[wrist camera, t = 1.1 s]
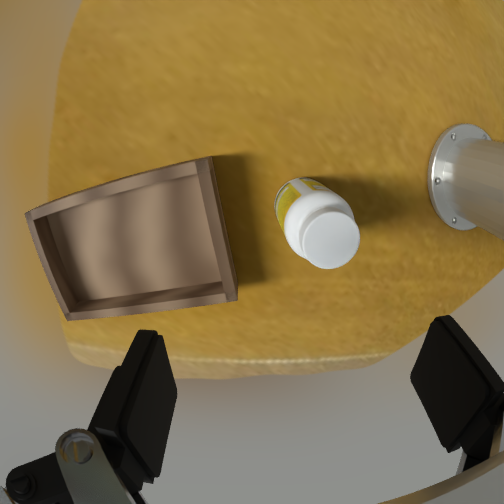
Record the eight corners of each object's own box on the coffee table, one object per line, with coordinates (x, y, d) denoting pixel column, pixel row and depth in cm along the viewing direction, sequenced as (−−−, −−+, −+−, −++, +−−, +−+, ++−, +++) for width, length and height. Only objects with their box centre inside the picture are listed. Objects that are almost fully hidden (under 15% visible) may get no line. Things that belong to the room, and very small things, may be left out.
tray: (211, 155, 25) (207, 158, 22) (237, 282, 30) (237, 300, 27) (42, 204, 26) (24, 213, 23) (79, 304, 31) (67, 320, 28)
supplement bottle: (284, 239, 29) (303, 289, 20) (266, 187, 27) (278, 216, 18) (335, 221, 28) (375, 263, 19) (320, 169, 26) (360, 188, 17)
